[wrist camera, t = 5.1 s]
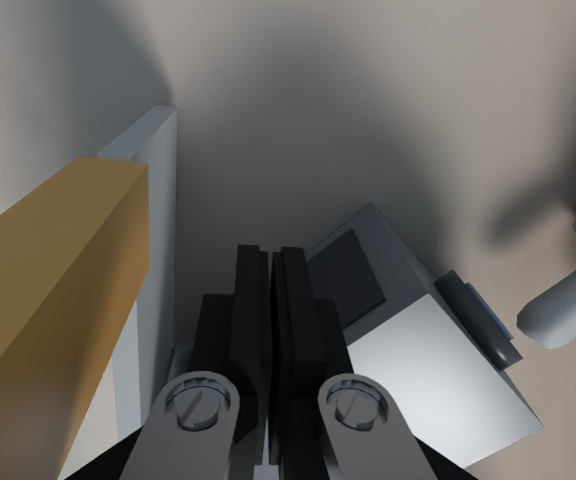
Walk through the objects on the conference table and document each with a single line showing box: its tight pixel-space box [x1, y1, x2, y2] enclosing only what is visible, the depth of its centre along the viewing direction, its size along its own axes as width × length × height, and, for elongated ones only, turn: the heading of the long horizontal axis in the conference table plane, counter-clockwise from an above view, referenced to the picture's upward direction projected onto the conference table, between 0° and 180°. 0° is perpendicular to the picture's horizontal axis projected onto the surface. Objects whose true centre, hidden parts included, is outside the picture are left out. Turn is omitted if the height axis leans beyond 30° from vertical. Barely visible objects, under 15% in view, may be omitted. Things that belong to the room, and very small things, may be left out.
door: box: [0, 105, 178, 480], centre depth 12 cm, size 13×2×14 cm, turn 172°
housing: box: [167, 203, 544, 480], centre depth 19 cm, size 15×9×8 cm, turn 131°
